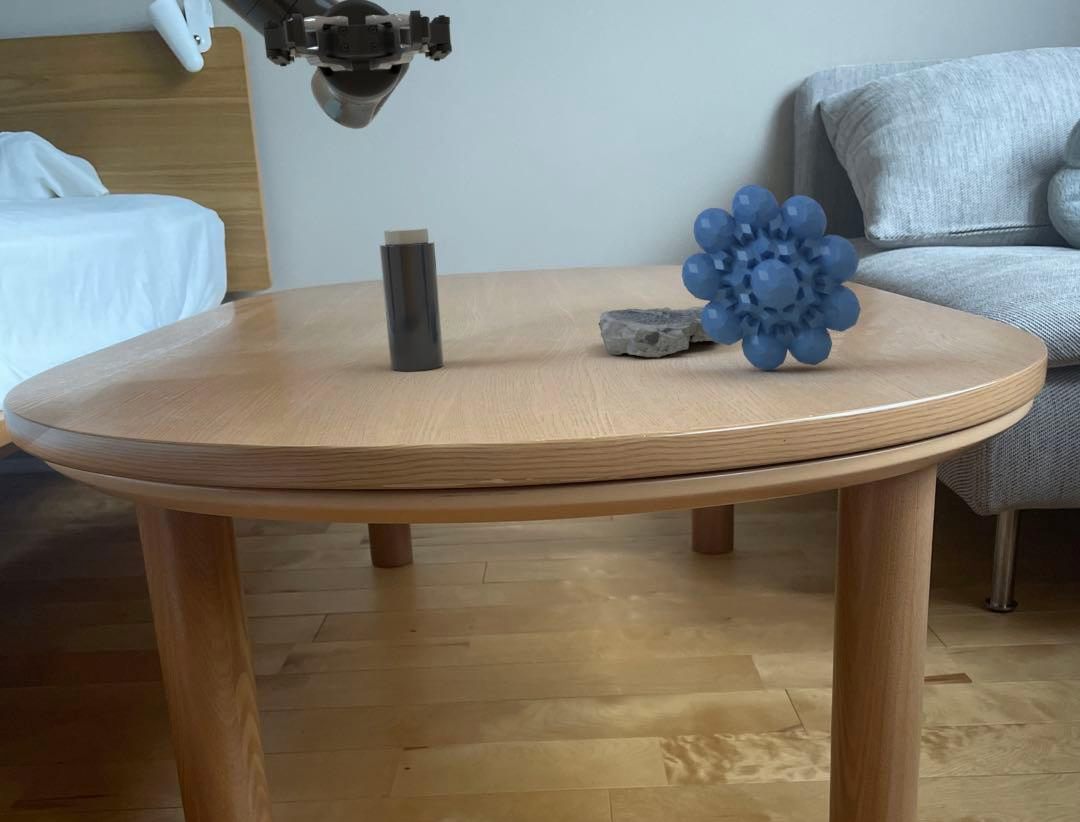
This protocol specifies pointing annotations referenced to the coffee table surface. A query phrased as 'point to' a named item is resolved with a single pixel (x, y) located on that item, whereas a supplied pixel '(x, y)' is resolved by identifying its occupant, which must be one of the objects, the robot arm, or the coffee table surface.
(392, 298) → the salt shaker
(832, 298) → the blue flower toy
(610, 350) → the fossil
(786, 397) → the coffee table surface
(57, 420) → the coffee table surface
